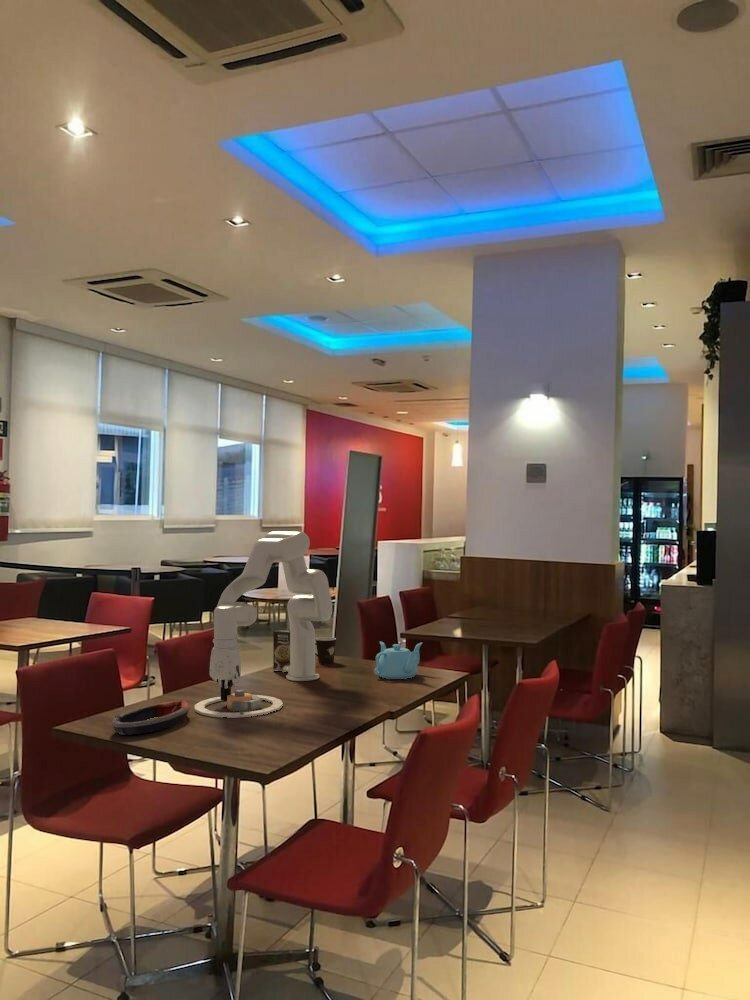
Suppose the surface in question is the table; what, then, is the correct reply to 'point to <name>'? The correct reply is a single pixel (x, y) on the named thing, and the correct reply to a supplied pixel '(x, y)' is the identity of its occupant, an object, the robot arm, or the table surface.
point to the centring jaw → (247, 704)
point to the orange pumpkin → (238, 697)
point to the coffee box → (281, 649)
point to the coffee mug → (325, 649)
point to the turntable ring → (203, 711)
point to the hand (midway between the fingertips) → (225, 699)
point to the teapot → (397, 662)
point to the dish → (138, 721)
